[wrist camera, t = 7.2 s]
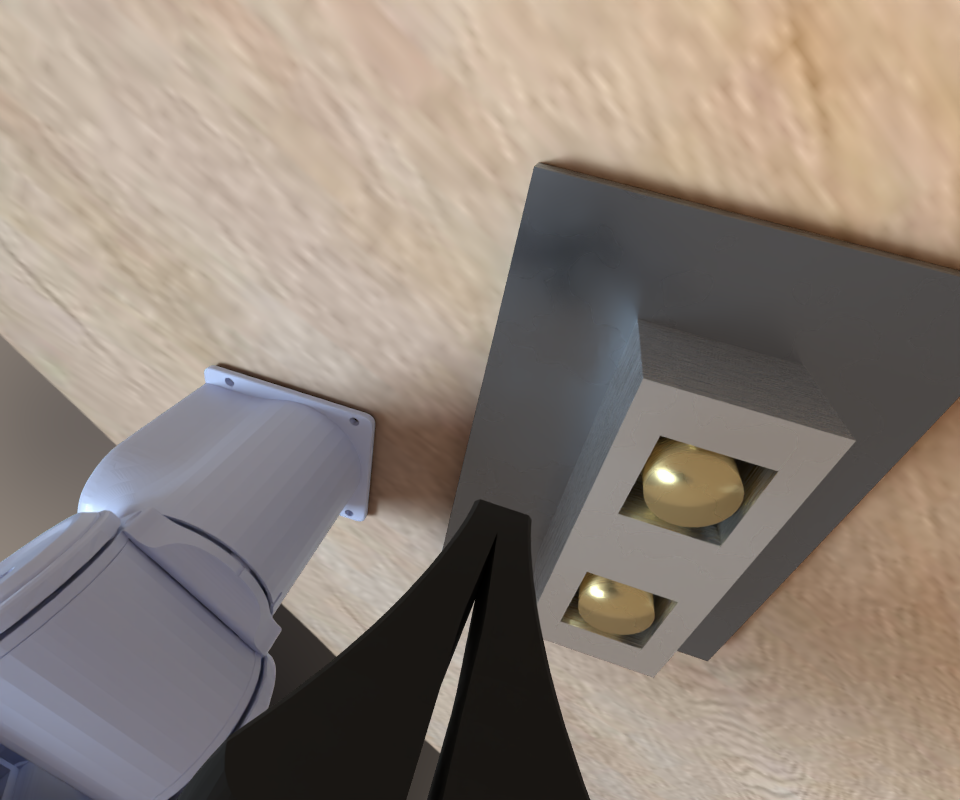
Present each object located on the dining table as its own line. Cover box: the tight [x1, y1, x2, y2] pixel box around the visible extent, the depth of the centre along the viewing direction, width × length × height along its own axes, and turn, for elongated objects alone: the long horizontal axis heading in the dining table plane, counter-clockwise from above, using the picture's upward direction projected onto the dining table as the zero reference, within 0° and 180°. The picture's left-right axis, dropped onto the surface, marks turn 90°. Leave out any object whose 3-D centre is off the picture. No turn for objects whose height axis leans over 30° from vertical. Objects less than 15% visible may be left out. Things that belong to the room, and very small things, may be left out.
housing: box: [533, 319, 856, 678], centre depth 19 cm, size 6×14×4 cm, turn 169°
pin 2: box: [642, 436, 744, 527], centre depth 17 cm, size 3×3×4 cm
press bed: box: [442, 162, 960, 661], centre depth 22 cm, size 16×22×1 cm
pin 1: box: [578, 572, 655, 635], centre depth 21 cm, size 3×3×4 cm
